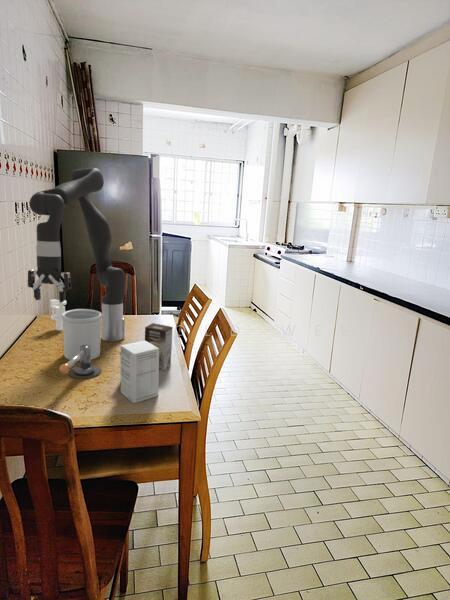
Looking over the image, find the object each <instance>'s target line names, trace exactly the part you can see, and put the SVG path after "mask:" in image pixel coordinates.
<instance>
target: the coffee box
mask: <svg viewBox="0 0 450 600" xmlns="http://www.w3.org/2000/svg"><path fill="white" fill-rule="evenodd" d="M144 341H147V342H149V343H150V344H152V345H154V346H156V347H157V348H159V369H160V370H159V371H165V370H166V369H168V368H169V367H171V365H172V349H173V348H172V347H173V346H172V345H173V326H171V325H170V326H169V325H164V324H159V323H154V322H153V323H150V324H148V325H147V326H145V327H144ZM168 366H169V367H168ZM167 367H168V368H167Z"/></svg>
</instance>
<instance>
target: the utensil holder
mask: <svg viewBox="0 0 450 600" xmlns="http://www.w3.org/2000/svg"><path fill="white" fill-rule="evenodd" d="M62 319H63V330H62V334H63V335H62V336H63V355H64V358H65V359H67V360H68V361H70V360H71V359H72V358H73V357H74V356H75V355H77V354H78V353H79V352H80V346H82V345H90V346H91V360H93V359H96V358H98V357H99V356H100V354H101V339H102V311H98V310H96V309H90V308H75V309H70V310H65V312H64V313H63V314H62ZM78 362H80V360H79V361H78Z"/></svg>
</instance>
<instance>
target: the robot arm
mask: <svg viewBox="0 0 450 600" xmlns="http://www.w3.org/2000/svg"><path fill="white" fill-rule="evenodd" d="M104 184H105V183H104V176H103V174H102V172H101V170H100V169H98V168H97V167H88V168H87V167H86V168H77V169H73V171H72V173H71V180H70V181H66V182H64V183H61V184H59V185H57V186H55V187H53V188H50V189H45V190H41V191H37V192H34V194H33V195H32V196H31V197H30V199H29V208H30V211H32V212H33V213H34V214H36V215H39V216H48V219H47V221H44V222H39V223H37V224H36V246H35V247H36V248H35V249H36V250H35V251H36V267H37V270H35V268H34V269H29V270H28V271H27V287H28V288H31V289H33V297H34V299H35V301H40V300H42V299H41V296H42V295H41V287H42V285H46V284H48V285H54V286H55V287H56V288H57V289H58V291H59V292H58V293H59V296H58V297H59V299H58V300H60V302H59V303H61V302H64V300H65V301H66V299H67V298H66V296H67V294H66V293H67V291H69V290H71V289H72V279H71V272H69V271H68V272H63V271H62V270H61V269H62V255H61V254H62V251H61V250H62V247H61V241H60V240H61V238H60V237H61V235H60V229H61V224H62V221H63V216H64V212H65V209H66V207H68V206H69V205H71V204H72V203H73V202H76V201H78V203H79V206H80V209H81V213H82V215H83V219H84V223H85V227H86V230H87V235H88V239H89V241H90V245H91V249H92V253H93V256H94V262H95V270H96V275H97V280H98V281H99V283H100V284H101V286H103V287H105V288H106V287H107V293H106V294H104V295H102V296H101V313H102V317H101V339H102V340H103V341H104V342H109V343H110V342H112V343H113V342H119V341H122V340H125V338H126V337H125V333H126V331H125V330H126V329H125V328H126V327H125V323H126V321H125V318H124V298H125V295H126V284H127V283H126V282H127V281H126V274H125V271H124V270H123V269H122V268H119V267H114V266H113V265H112V262H111V258H110V257H111V256H110V248H111V245H112V241H113V240H112V238H113V237H112V232H111V228H110V223H109V222H108V219H107V218H106V217H105V215H104V214H103V213H102V212H100V210H99V209H98V208H97V207H96V206H95V204H94V203H93V201H92V199H91V196H90V194H91V193H96V192H99V191H101V190H102V189H103V187H104ZM36 276H37V277H38V279H37V280H36ZM61 278H62V279H63V280H64V281H63V280H62V279H61Z"/></svg>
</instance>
